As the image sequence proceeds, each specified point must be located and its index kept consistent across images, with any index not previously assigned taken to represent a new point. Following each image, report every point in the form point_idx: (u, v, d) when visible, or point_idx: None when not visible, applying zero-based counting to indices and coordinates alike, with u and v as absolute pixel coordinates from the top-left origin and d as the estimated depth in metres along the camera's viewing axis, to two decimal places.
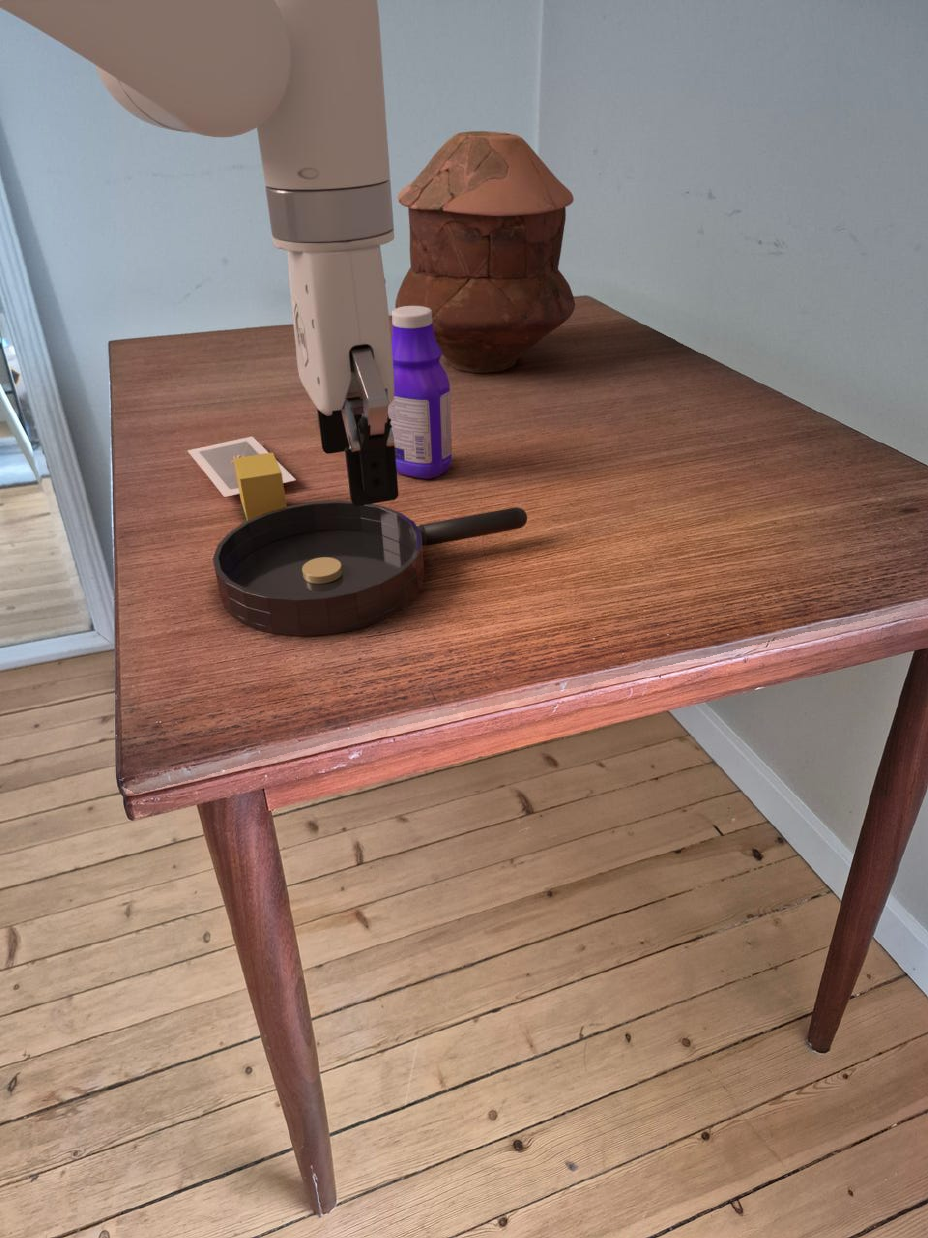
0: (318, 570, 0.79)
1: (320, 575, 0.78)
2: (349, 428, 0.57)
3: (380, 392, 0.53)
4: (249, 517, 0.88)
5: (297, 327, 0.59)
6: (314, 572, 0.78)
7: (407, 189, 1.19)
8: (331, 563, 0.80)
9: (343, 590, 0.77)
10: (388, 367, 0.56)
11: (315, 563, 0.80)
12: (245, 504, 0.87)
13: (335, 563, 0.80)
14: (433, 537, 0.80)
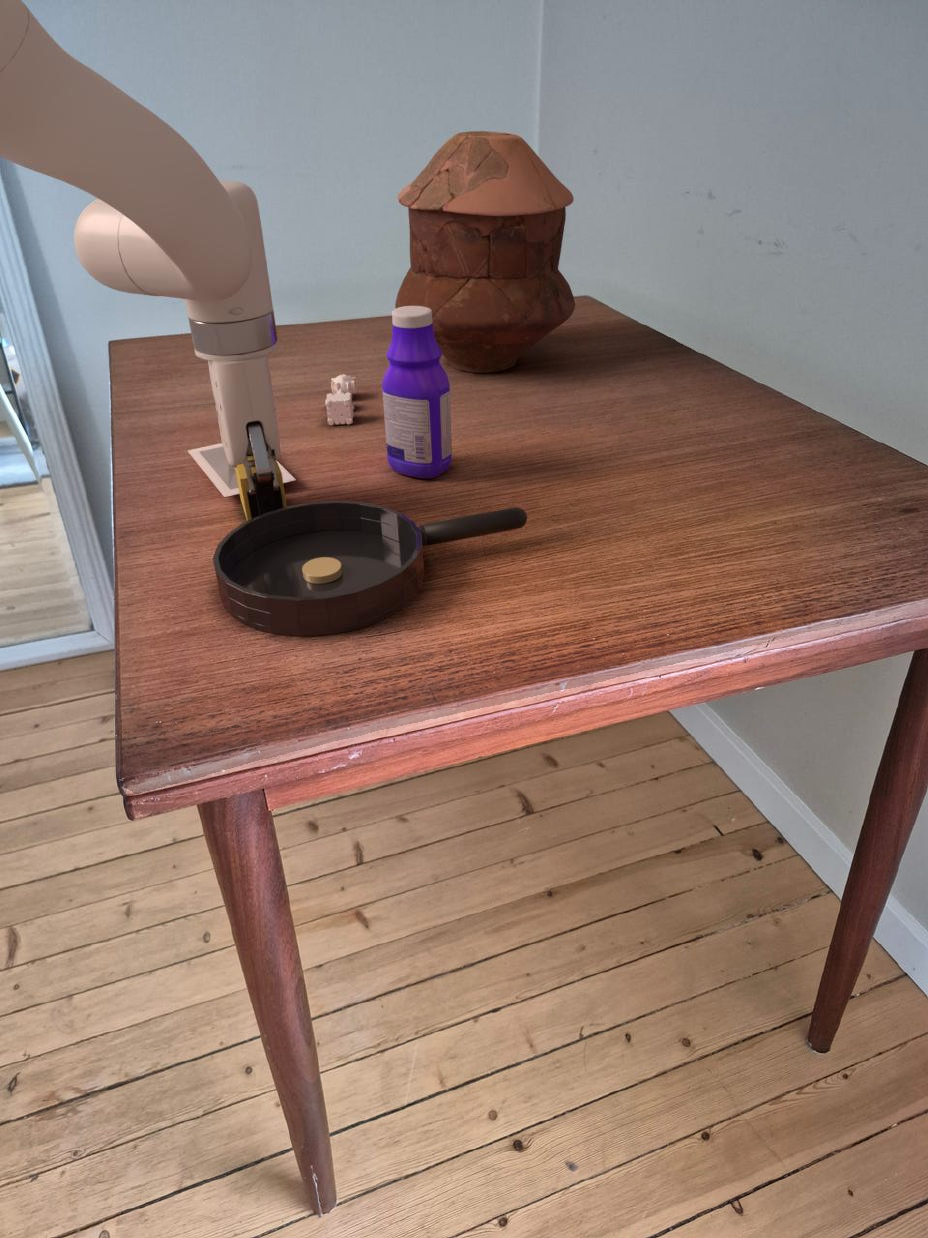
0: (318, 570, 0.79)
1: (320, 575, 0.78)
2: (248, 481, 0.85)
3: (266, 467, 0.81)
4: (249, 517, 0.88)
5: (215, 405, 0.85)
6: (314, 572, 0.78)
7: (407, 189, 1.19)
8: (331, 563, 0.80)
9: (343, 590, 0.77)
10: (274, 435, 0.82)
11: (315, 563, 0.80)
12: (245, 504, 0.87)
13: (335, 563, 0.80)
14: (433, 537, 0.80)
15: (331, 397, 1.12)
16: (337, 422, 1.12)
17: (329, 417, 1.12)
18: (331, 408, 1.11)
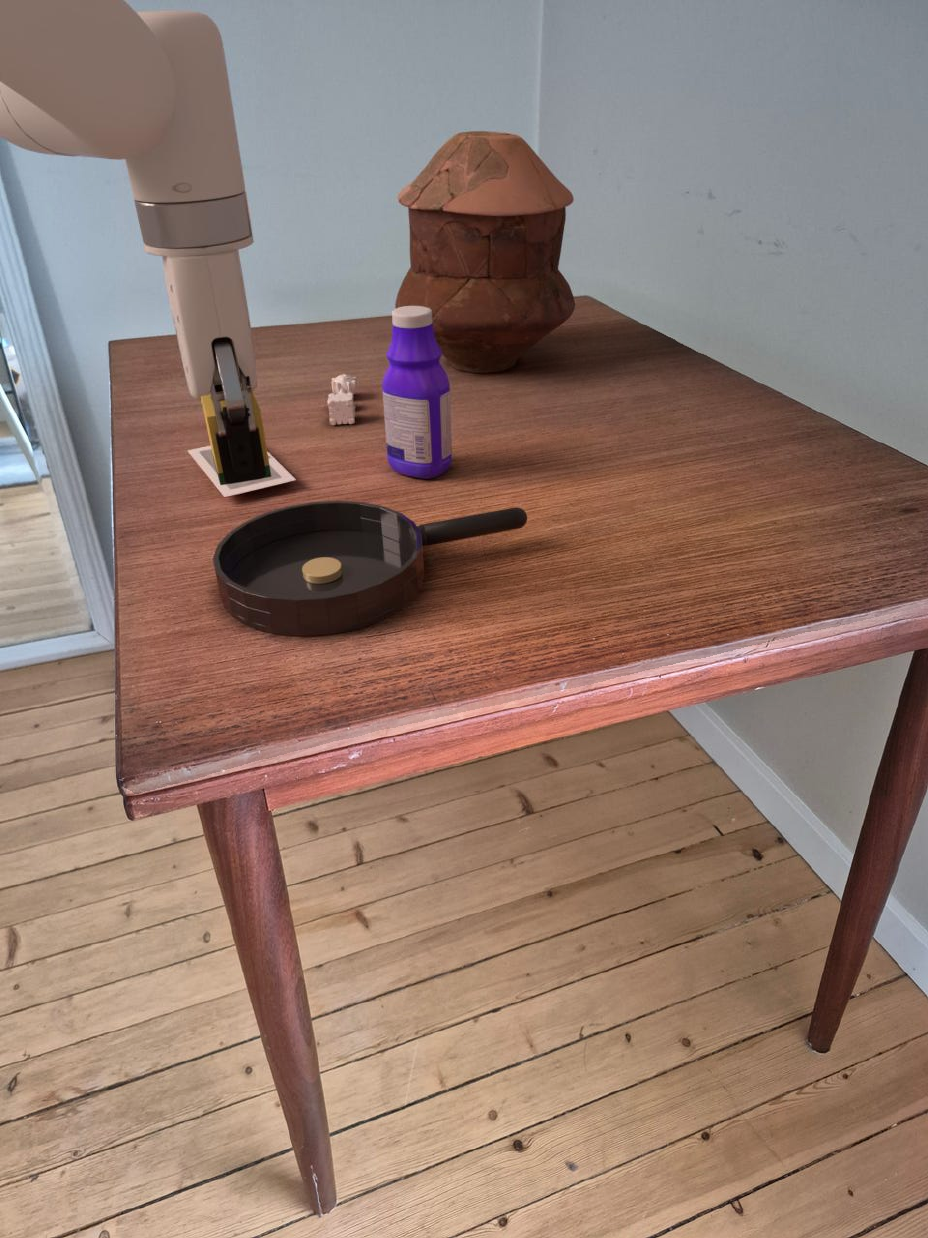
0: (318, 570, 0.79)
1: (320, 575, 0.78)
2: (217, 418, 0.66)
3: (238, 397, 0.62)
4: (220, 467, 0.69)
5: None
6: (314, 572, 0.78)
7: (407, 189, 1.19)
8: (331, 563, 0.80)
9: (343, 590, 0.77)
10: (248, 357, 0.64)
11: (315, 563, 0.80)
12: (214, 450, 0.69)
13: (335, 563, 0.80)
14: (433, 537, 0.80)
15: (333, 397, 1.12)
16: (339, 422, 1.12)
17: (331, 417, 1.12)
18: (333, 408, 1.11)
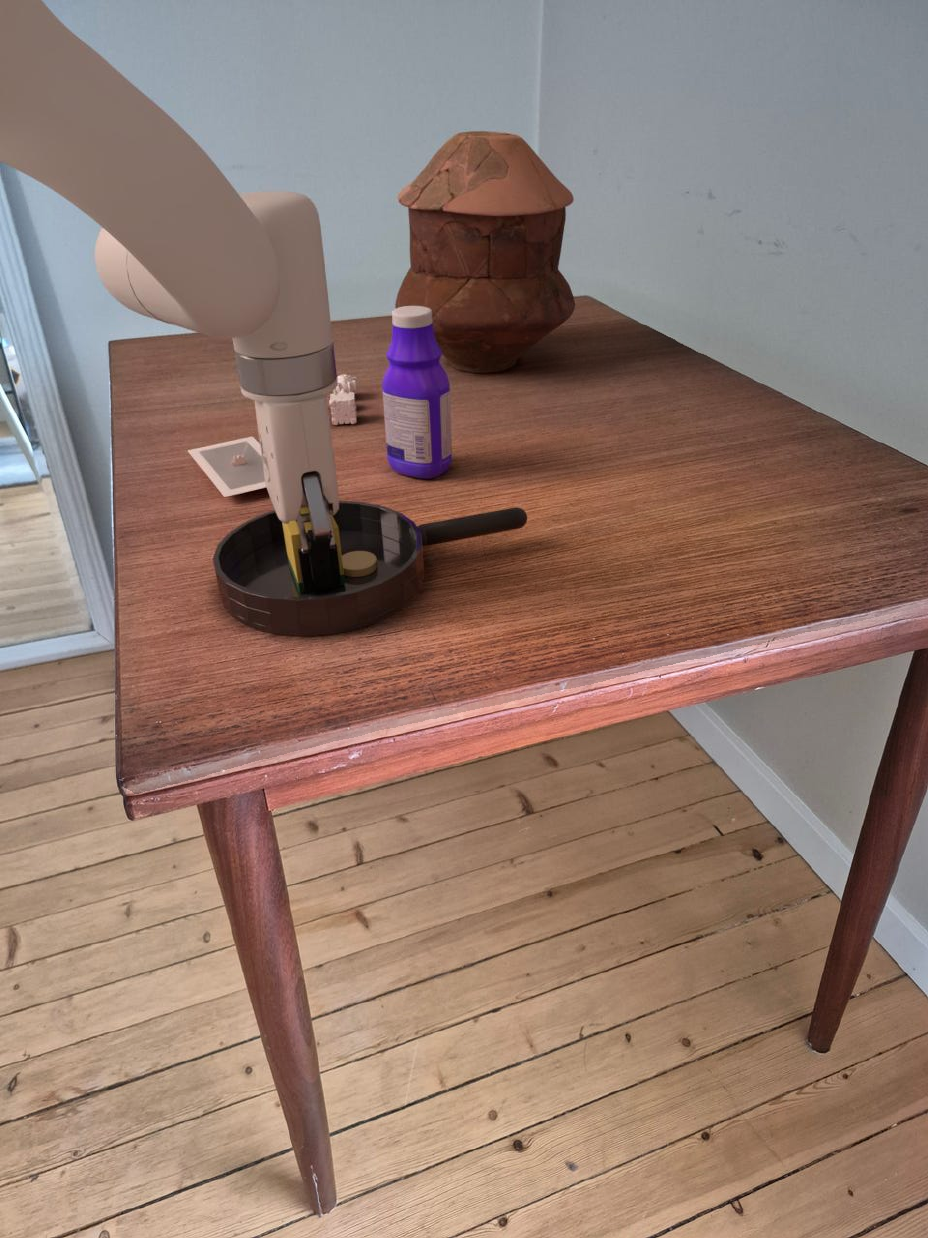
0: (353, 563, 0.80)
1: (356, 568, 0.79)
2: (301, 538, 0.73)
3: (324, 525, 0.69)
4: (300, 578, 0.76)
5: (262, 450, 0.74)
6: (350, 565, 0.79)
7: (407, 189, 1.19)
8: (366, 556, 0.81)
9: (343, 590, 0.77)
10: (333, 486, 0.70)
11: (350, 557, 0.81)
12: (296, 563, 0.75)
13: (370, 556, 0.81)
14: (433, 537, 0.80)
15: (335, 397, 1.12)
16: (341, 422, 1.12)
17: (333, 417, 1.12)
18: (335, 407, 1.11)
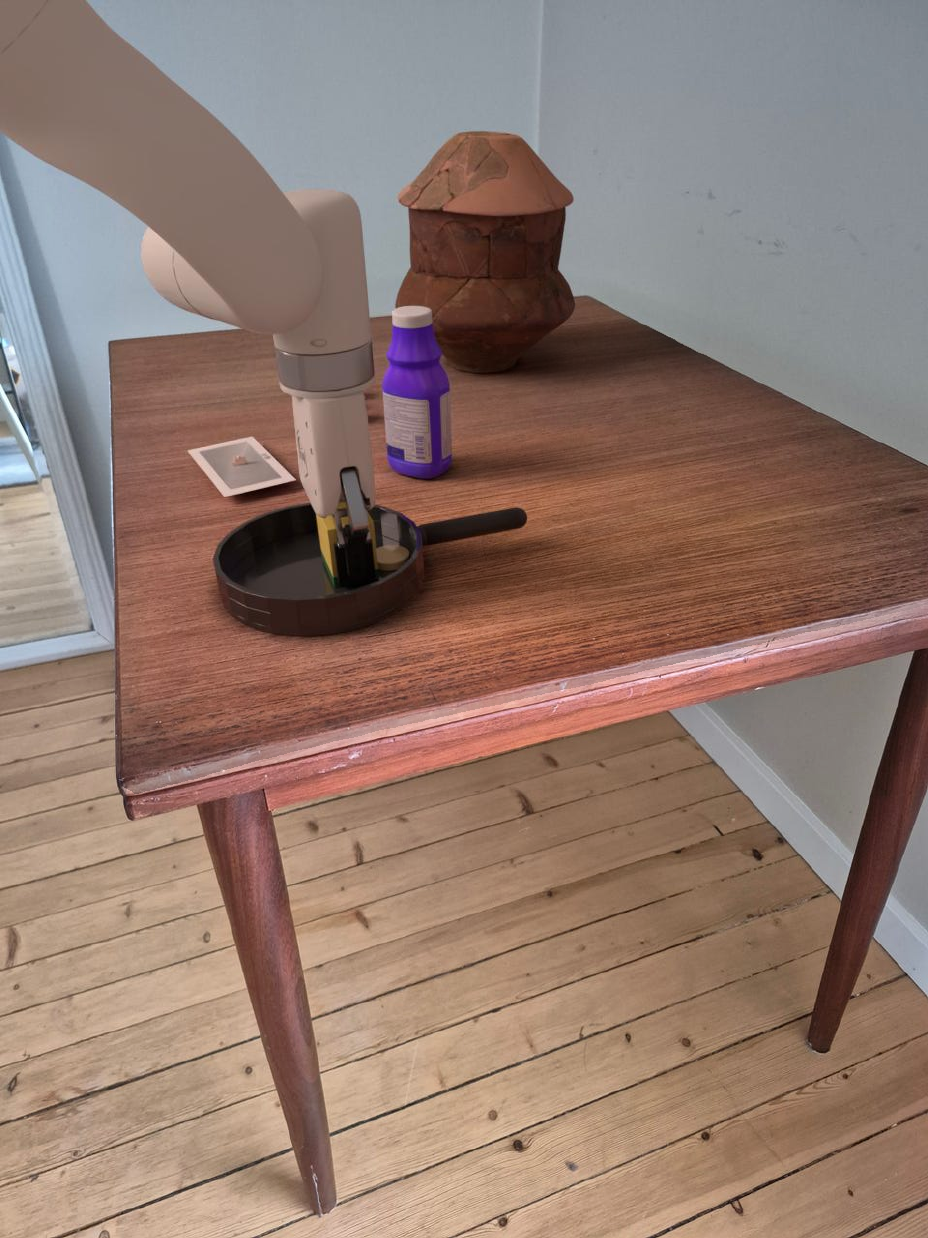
0: (386, 557, 0.80)
1: (390, 562, 0.80)
2: (337, 533, 0.74)
3: (362, 519, 0.70)
4: (335, 572, 0.77)
5: (299, 445, 0.74)
6: (383, 559, 0.80)
7: (407, 189, 1.19)
8: (399, 550, 0.81)
9: (343, 590, 0.77)
10: (370, 482, 0.71)
11: (382, 551, 0.81)
12: (331, 558, 0.76)
13: (402, 550, 0.81)
14: (433, 537, 0.80)
15: None
16: None
17: None
18: None
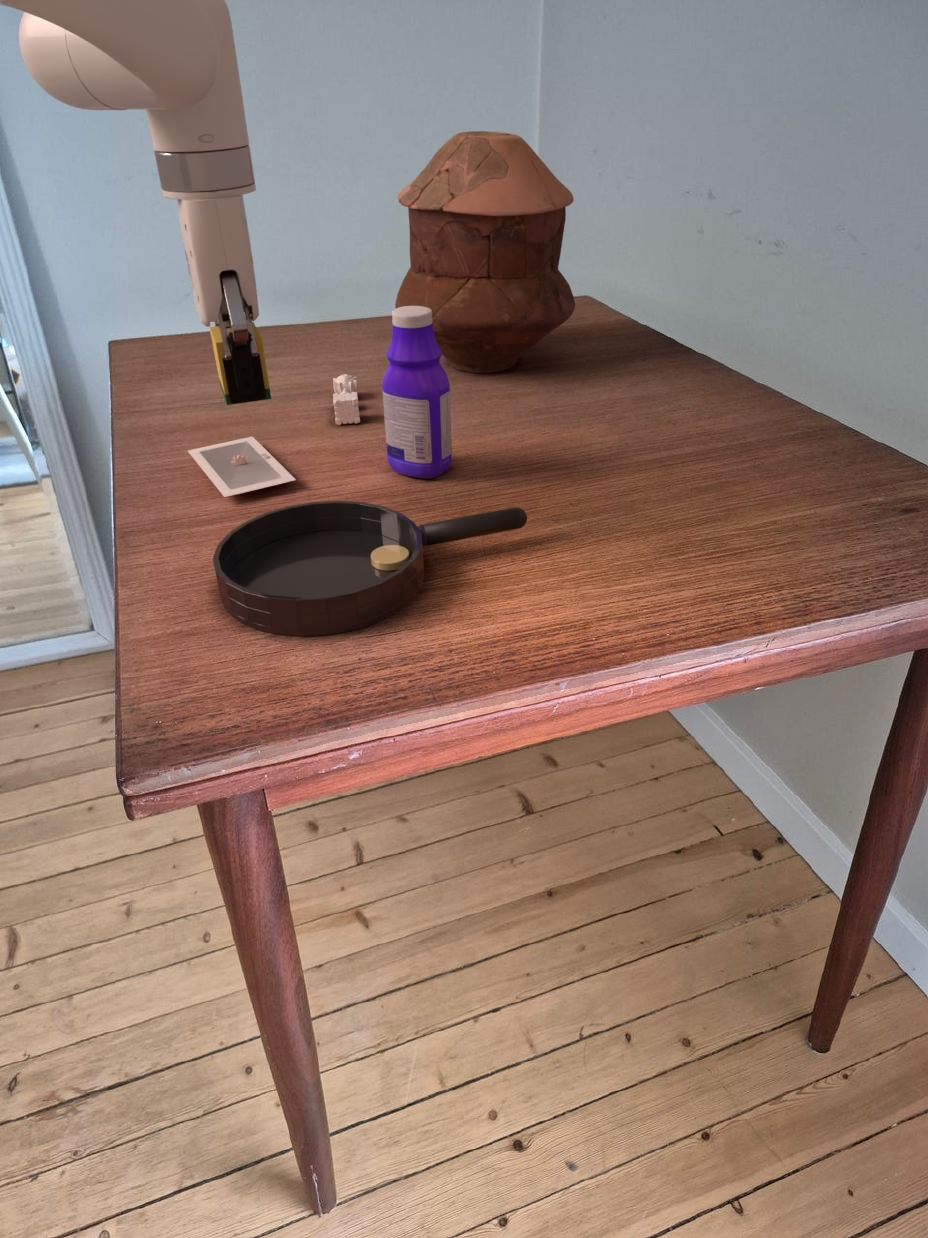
0: (386, 557, 0.80)
1: (390, 562, 0.80)
2: (223, 343, 0.76)
3: (242, 321, 0.73)
4: (226, 388, 0.80)
5: None
6: (383, 559, 0.80)
7: (407, 189, 1.19)
8: (399, 550, 0.81)
9: (343, 590, 0.77)
10: (251, 288, 0.74)
11: (382, 551, 0.81)
12: (222, 373, 0.79)
13: (402, 550, 0.81)
14: (433, 537, 0.80)
15: (338, 397, 1.12)
16: (345, 421, 1.12)
17: (337, 417, 1.12)
18: (338, 407, 1.11)
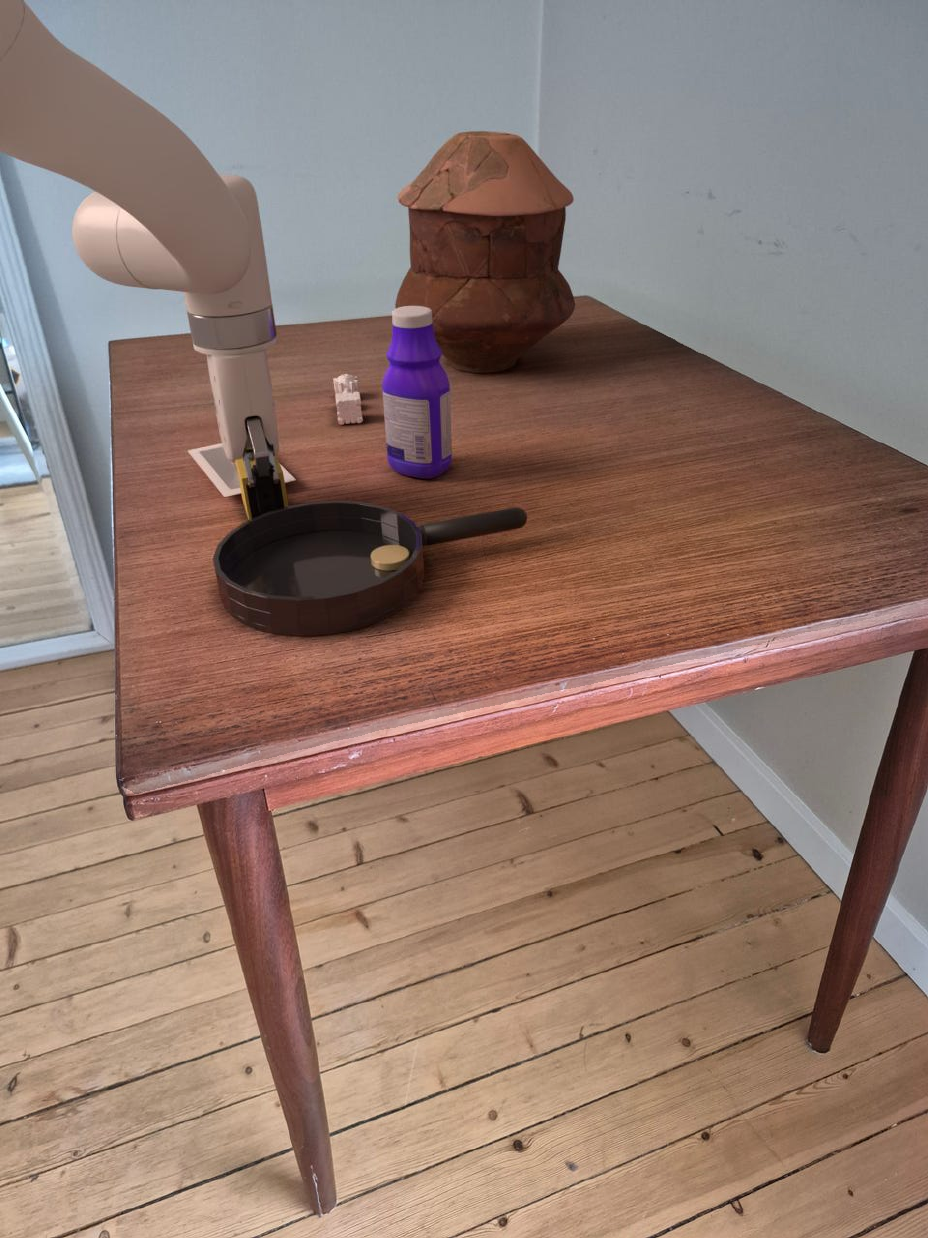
0: (386, 557, 0.80)
1: (390, 562, 0.80)
2: (247, 471, 0.83)
3: (263, 449, 0.79)
4: None
5: (214, 400, 0.85)
6: (383, 559, 0.80)
7: (407, 189, 1.19)
8: (399, 550, 0.81)
9: (343, 590, 0.77)
10: (273, 430, 0.82)
11: (382, 551, 0.81)
12: (247, 503, 0.87)
13: (402, 550, 0.81)
14: (433, 537, 0.80)
15: (341, 397, 1.12)
16: (348, 421, 1.12)
17: (340, 416, 1.12)
18: (341, 407, 1.11)
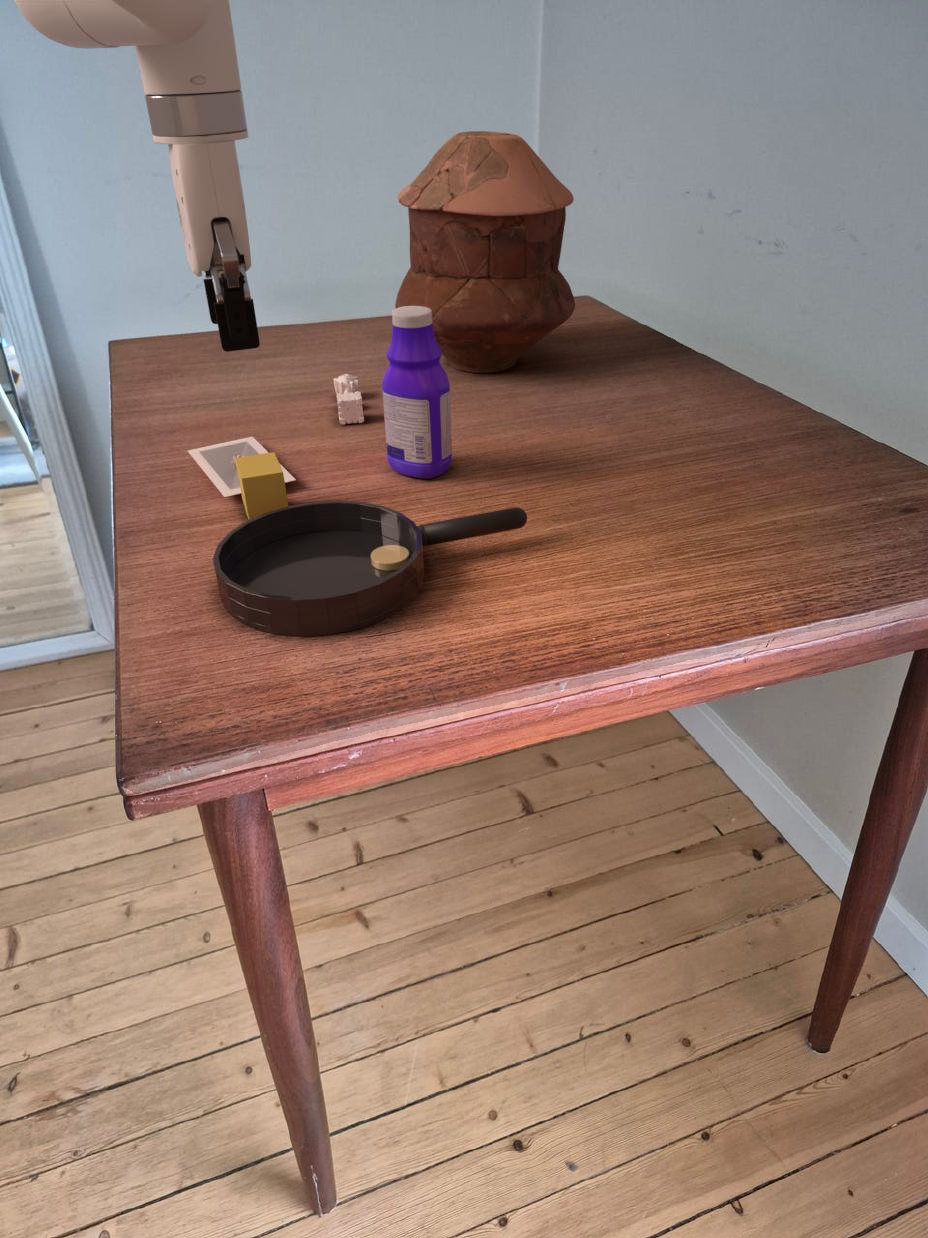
0: (386, 557, 0.80)
1: (390, 562, 0.80)
2: (214, 284, 0.74)
3: (231, 250, 0.70)
4: (251, 516, 0.88)
5: (179, 211, 0.76)
6: (383, 559, 0.80)
7: (407, 189, 1.19)
8: (399, 550, 0.81)
9: (343, 590, 0.77)
10: (243, 236, 0.73)
11: (382, 551, 0.81)
12: (247, 503, 0.87)
13: (402, 550, 0.81)
14: (433, 537, 0.80)
15: (342, 397, 1.12)
16: (349, 421, 1.12)
17: (341, 416, 1.12)
18: (343, 407, 1.11)
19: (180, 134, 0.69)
